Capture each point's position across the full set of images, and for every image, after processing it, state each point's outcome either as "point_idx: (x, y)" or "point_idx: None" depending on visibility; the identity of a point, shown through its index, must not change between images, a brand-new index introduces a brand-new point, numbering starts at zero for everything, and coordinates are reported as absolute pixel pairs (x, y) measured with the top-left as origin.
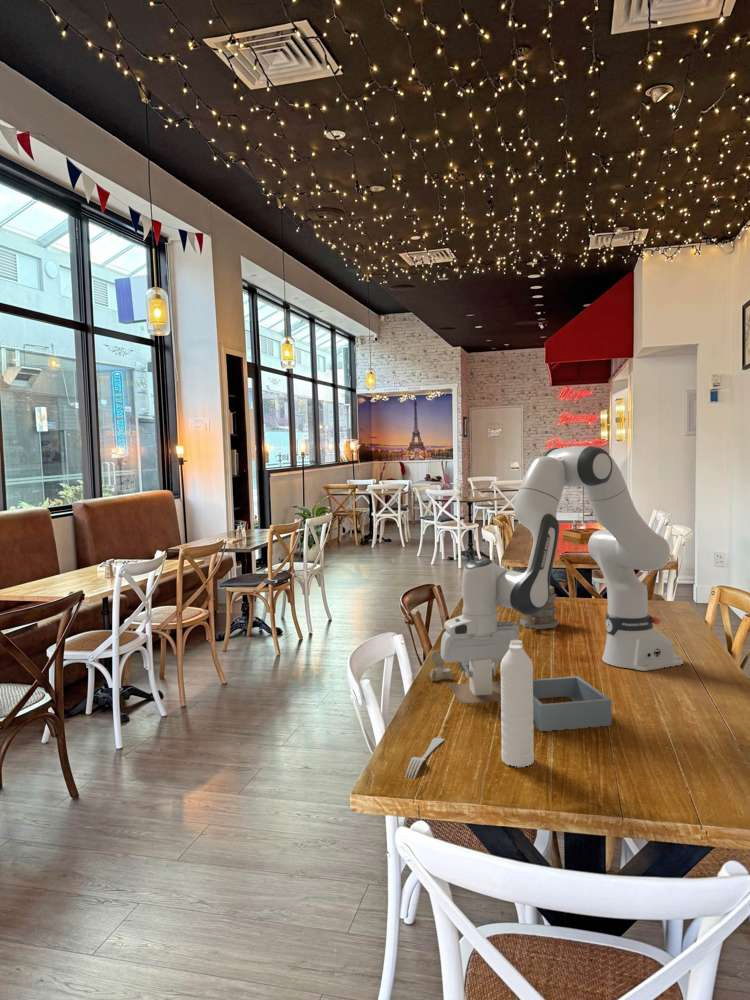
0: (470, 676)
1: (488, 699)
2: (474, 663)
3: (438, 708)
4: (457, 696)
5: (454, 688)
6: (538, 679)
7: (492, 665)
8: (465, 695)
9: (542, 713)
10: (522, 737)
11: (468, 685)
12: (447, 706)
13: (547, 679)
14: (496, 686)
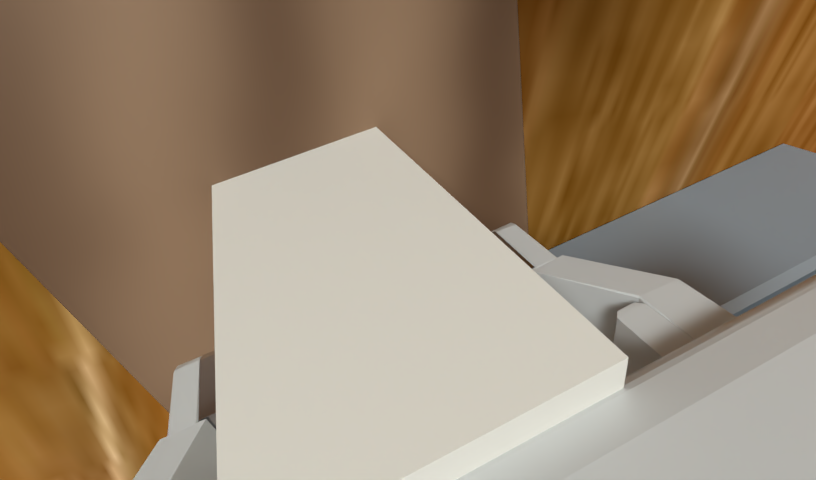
0: None
1: None
2: None
3: (15, 450)
4: (130, 358)
5: (13, 180)
6: (741, 298)
7: (562, 291)
8: (200, 324)
9: None
10: None
11: (173, 57)
12: (77, 404)
13: (781, 283)
14: (465, 71)
